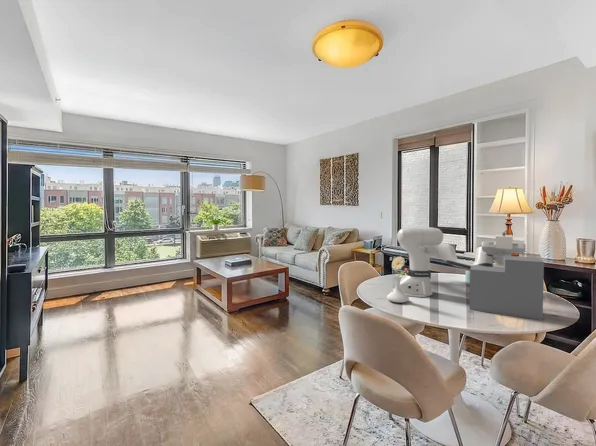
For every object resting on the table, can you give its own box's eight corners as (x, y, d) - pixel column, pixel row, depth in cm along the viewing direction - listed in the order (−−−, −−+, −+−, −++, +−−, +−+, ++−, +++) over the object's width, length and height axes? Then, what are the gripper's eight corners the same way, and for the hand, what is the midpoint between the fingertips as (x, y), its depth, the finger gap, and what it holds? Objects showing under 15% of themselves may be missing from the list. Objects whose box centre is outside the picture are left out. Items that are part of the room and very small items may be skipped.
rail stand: (470, 302, 156) (471, 253, 155) (538, 312, 141) (539, 258, 140) (469, 309, 146) (470, 257, 145) (542, 320, 131) (544, 262, 130)
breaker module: (495, 243, 166) (495, 230, 165) (510, 244, 162) (511, 230, 162) (495, 248, 150) (495, 233, 150) (512, 249, 146) (512, 233, 146)
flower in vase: (383, 298, 166) (383, 254, 165) (402, 297, 167) (403, 253, 166) (393, 305, 153) (393, 258, 152) (414, 304, 154) (414, 257, 153)
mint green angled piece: (495, 285, 189) (495, 274, 189) (477, 286, 189) (477, 274, 188) (482, 281, 201) (482, 270, 201) (465, 281, 201) (465, 270, 200)
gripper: (525, 257, 164) (527, 248, 154) (481, 254, 175) (481, 245, 165) (524, 247, 166) (527, 237, 156) (482, 245, 178) (481, 235, 167)
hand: (503, 241), depth 161 cm, fingers closed on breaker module, 3 cm apart
